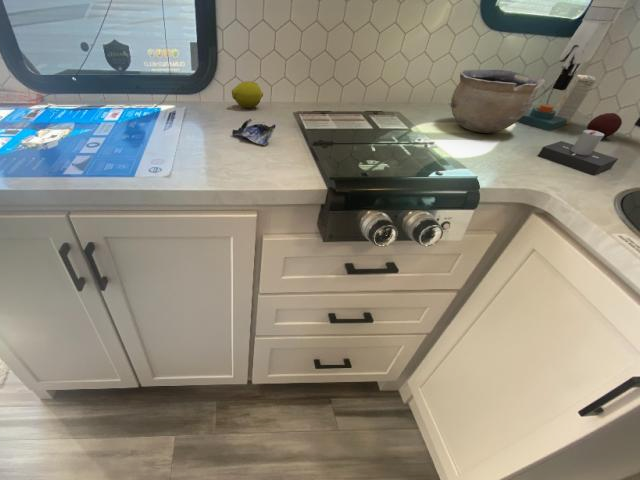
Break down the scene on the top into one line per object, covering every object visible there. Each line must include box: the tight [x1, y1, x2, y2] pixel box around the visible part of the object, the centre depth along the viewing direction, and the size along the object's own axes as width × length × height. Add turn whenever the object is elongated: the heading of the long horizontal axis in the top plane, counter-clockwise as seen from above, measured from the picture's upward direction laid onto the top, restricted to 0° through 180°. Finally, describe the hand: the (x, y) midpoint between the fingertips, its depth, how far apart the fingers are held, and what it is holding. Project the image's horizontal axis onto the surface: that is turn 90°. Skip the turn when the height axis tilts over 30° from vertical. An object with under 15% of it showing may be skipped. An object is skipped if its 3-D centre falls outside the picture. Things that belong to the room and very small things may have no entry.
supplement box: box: [554, 74, 597, 125], centre depth 116 cm, size 8×5×13 cm, turn 147°
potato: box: [586, 112, 623, 139], centre depth 107 cm, size 7×8×7 cm
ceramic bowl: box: [450, 69, 546, 134], centre depth 106 cm, size 22×22×15 cm
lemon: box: [231, 80, 264, 109], centre depth 117 cm, size 11×8×8 cm
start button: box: [538, 103, 554, 112], centre depth 115 cm, size 4×4×2 cm
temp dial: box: [571, 129, 604, 155], centre depth 90 cm, size 4×4×5 cm
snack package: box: [231, 118, 277, 147], centre depth 98 cm, size 12×6×12 cm
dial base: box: [537, 140, 619, 176], centre depth 93 cm, size 14×10×3 cm
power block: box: [517, 106, 568, 131], centre depth 117 cm, size 12×10×4 cm
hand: (558, 89), depth 111 cm, fingers closed
